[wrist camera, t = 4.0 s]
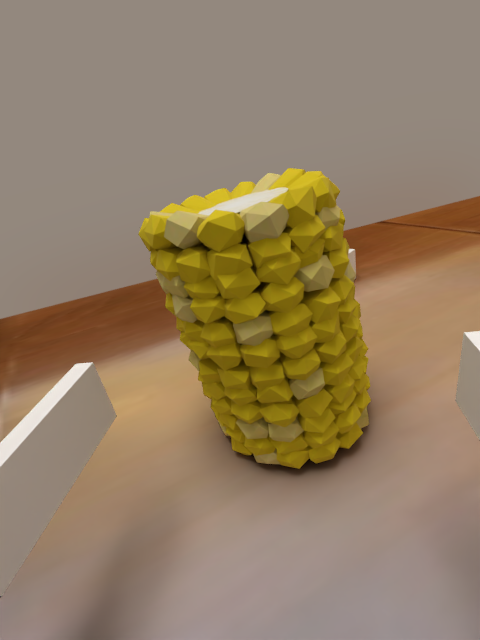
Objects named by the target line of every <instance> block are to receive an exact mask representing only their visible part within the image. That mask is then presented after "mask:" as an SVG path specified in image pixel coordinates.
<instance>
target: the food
mask: <svg viewBox="0 0 480 640" xmlns="http://www.w3.org/2000/svg"><path fill="white" fill-rule="evenodd" d="M339 193H340V190H339V189H338V188H337V186H336V185H334V184H333V183H332V182H331V181H330V180H329V178H326V177H325V176H324V175H323V174H322V172H321V171H313V172H307V173H306V172H305V170H303V169H292V168H288V169H287V170H286V171H285V172H284V173H283V174H282V175H277V174H272V173H268V174H267V175H266V176H264V177H263V178H262V179H261V180H260V181H259V182H258V183H257V185H255V184H254V183H253V182H240V184H239V185H238V186H237V187H236V188H235V189H234V190H233V191H232V192H231V193H230V192H229V191H228V190H227V189H226V188H222V189H219V190H216V191H214V192H212V193H210V194H208V195H206V196H205V198H203V197H200V196H197V195H194V196H191V197H189V198H187V199H186V200H185V201H184V202H183V203H182V204H181V205H176V204H173V203H171V204H170V205H168V206H167V207H166V208H164V209H163V210H161V211H160V212H150V217H149V218H145V219H144V221H143V224H142V227H141V229H140V232H139V236H140V237H141V239H142V241H143V242H144V244H145V245H146V247H147V249H148V250H149V251H151V257H150V262H151V264H152V266H154V268H155V269H156V270H157V272H156V276H157V278H158V280H159V282H160V284H161V287H162V289H163V290H164V292H165V293H166V294H167V296H166V305H165V307H166V308H167V309H168V310H169V311H170V312H172V313H173V314H174V315H175V316H176V317H177V329H178V330H180V331H181V335H180V340H181V341H182V342H183V343H184V344H185V345H186V346H187V347H188V348H189V349H190V350H191V352H190V356H189V361H190V362H191V363H192V364H193V365H194V366H195V367H196V368H197V370H198V371H199V376H198V380H199V381H202V386H203V393H204V395H205V396H207V397H208V398H210V399H211V400H212V401H211V408H212V410H213V411H214V413H215V417H216V418H217V420H218V421H219V425H220V427H221V428H222V430H223V432H224V434H225V435H226V436H231V442H232V450H234V451H236V452H239V453H241V454H244V455H252V453H253V455H254V457H255V459H256V462H258V463H266V464H281V465H283V466H288V467H293V468H298V469H300V468H301V467H302V465H303V464H304V463H305V462H306V461H307V460H308V459H309V458H310V460H311V461H313V462H314V463H316V464H317V463H320V462H323V461H327V460H330V459H333V458H334V456H335V454H336V452H337V450H338V448H339V447H340V448H348V449H349V448H350V447H351V446H352V445H353V443H354V442H355V441H356V440H357V439H358V438H359V437H360V436H361V435H362V434H363V432H362V430H361V428H363V427H365V426H367V425H369V420H368V412H367V405H368V404H369V402H370V401H371V399H370V397H369V395H368V392H367V390H368V389H369V387H370V382H369V377H368V376H367V375H366V369H367V363H368V358H367V357H366V356H364V355H365V354H366V352H367V350H368V347H367V346H366V344H365V343H364V341H363V340H362V336H363V333H362V326H361V323H360V320H359V318H360V317H361V313H360V304H359V303H358V302H357V301H356V300H355V299H354V295H355V286H354V283H353V282H354V280H355V277H356V273H355V271H354V269H353V267H352V265H351V263H350V262H349V261H350V260H349V258H348V253H349V246H348V243H347V241H346V238H343V227H344V223H345V218H344V215H343V212H342V210H341V209H340V208H339V207H338V206H336V198H337V196H338V194H339Z"/></svg>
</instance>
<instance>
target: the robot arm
mask: <svg viewBox="0 0 480 640" xmlns="http://www.w3.org/2000/svg"><path fill="white" fill-rule="evenodd" d="M456 402H457V404H458V406H459V407H460V409H461V411H462V412H463V414H464V416H465V417H466V419H467V420H468V422H469V424H470V425H471V427H472V429H473V430H474V432H475V434H476V435H477V437H478V439H479V440H480V331H476V332H464V335H463V343H462V351H461V360H460V368H459V376H458V384H457V393H456ZM116 416H117V415H116V413H115V411H114V409H113V406H112V404H111V402H110V400H109V397H108V395H107V393H106V391H105V388H104V386H103V384H102V382H101V379H100V377H99V375H98V373H97V370H96V368H95V366H94V364H93V363H81V364H75V365H74V366H73V367H72V368H71V370H70V371H69V372H68V373H67V374H66V375H65V376H64V377H63V378H62V379H61V380H60V381H59V382H58V383H57V384H56V385H55V386H54V387H53V388H52V389H51V390H50V391H49V392H48V394H47V395H46V396H45V397H44V398H43V399H42V400H41V401H40V402H39V403H38V404H37V405H36V406H35V407H34V408H33V409H32V410H31V411H30V412H29V413H28V414H27V415H26V416H25V418H24V419H23V420H22V421H21V422H20V423H19V424H18V425H17V426H16V427H15V428H14V429H13V430H12V431H11V432H10V433H9V434H8V435H7V436H6V437H5V438H4V439H3V440H2V442H1V443H0V597H2V596H3V594H4V593H5V591H6V590H7V588H8V586H9V585H10V583H11V582H12V580H13V579H14V577H15V575H16V574H17V572H18V571H19V569H20V567H21V566H22V564H23V563H24V561H25V560H26V558H27V556H28V555H29V553H30V552H31V550H32V549H33V547H34V545H35V544H36V542H37V541H38V539H39V538H40V536H41V534H42V533H43V531H44V530H45V528H46V527H47V525H48V523H49V522H50V520H51V519H52V517H53V515H54V514H55V512H56V511H57V509H58V508H59V506H60V504H61V503H62V501H63V500H64V498H65V497H66V495H67V493H68V492H69V490H70V489H71V487H72V486H73V484H74V482H75V481H76V479H77V478H78V476H79V475H80V473H81V471H82V470H83V468H84V467H85V465H86V463H87V462H88V460H89V459H90V457H91V456H92V454H93V452H94V451H95V449H96V448H97V446H98V445H99V443H100V441H101V440H102V438H103V437H104V435H105V434H106V432H107V430H108V429H109V427H110V426H111V424H112V423H113V421H114V419H115V418H116Z"/></svg>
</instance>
